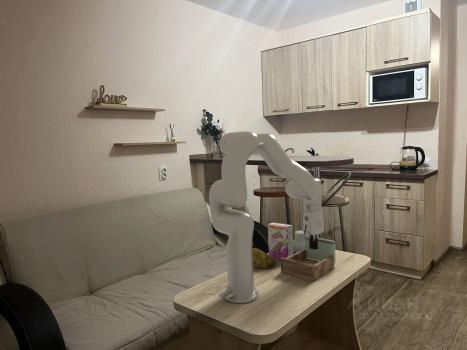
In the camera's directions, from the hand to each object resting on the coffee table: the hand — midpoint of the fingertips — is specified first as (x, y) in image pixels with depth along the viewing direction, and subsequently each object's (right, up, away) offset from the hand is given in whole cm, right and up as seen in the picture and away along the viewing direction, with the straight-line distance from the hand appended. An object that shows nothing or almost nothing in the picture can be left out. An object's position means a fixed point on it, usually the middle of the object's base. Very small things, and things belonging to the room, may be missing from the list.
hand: (313, 248), depth 150 cm
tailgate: (+3, -6, +4) cm, 8 cm away
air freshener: (-1, -6, +22) cm, 23 cm away
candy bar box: (-12, -8, +13) cm, 20 cm away
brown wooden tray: (-3, -9, -3) cm, 10 cm away
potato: (-23, -9, +4) cm, 25 cm away
